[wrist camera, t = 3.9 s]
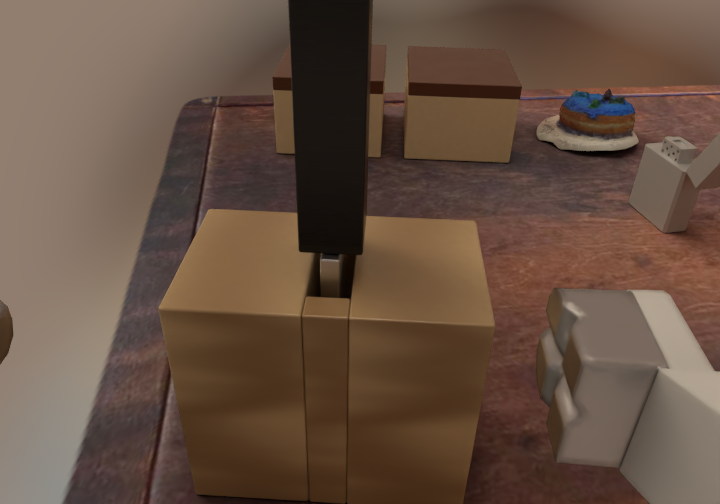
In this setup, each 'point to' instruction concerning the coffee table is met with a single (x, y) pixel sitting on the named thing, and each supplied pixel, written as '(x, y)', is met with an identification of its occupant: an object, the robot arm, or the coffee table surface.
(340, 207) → the knife
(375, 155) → the cake left
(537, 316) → the coffee table surface
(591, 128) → the dessert
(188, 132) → the coffee table surface
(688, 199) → the grey angled block
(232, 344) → the knife block
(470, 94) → the cake right
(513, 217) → the coffee table surface
